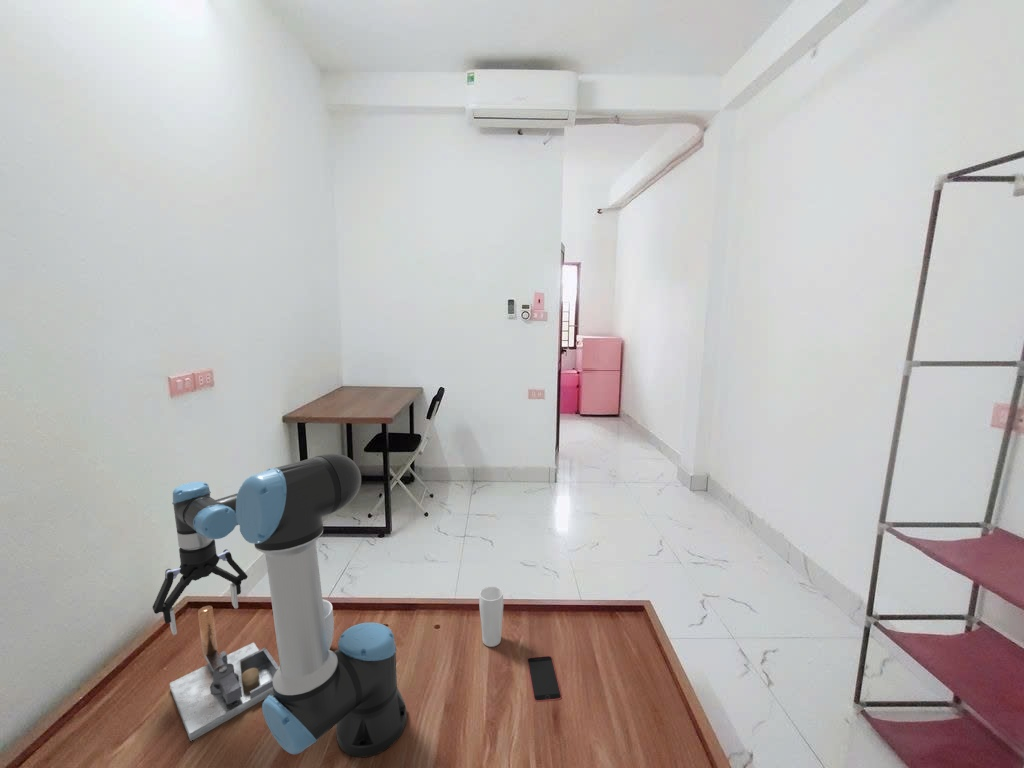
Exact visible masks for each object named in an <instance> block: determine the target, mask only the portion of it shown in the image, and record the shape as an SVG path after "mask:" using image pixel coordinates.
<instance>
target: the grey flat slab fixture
mask: <svg viewBox="0 0 1024 768" xmlns="http://www.w3.org/2000/svg"><path fill="white" fill-rule="evenodd" d="M219 655H220V657H221V659H222V661H223V663H224V664H232V665H233V666H234V674H235V677H236V679H237V680H238V682H239V684H240V686H241V691H242V697H241V698H239V699H238V700H236V701H234V702H232V703H230V704H229V705H227V703H226V701H225V699H224V697H223V695H222V693H221V691H220V689H217V688H215V687H214V683H213V675H212V674H213V672H212V670H211V668H210V666H209V664H208V663H207V664H206V665H203V666H202V667H199V668H197V669H195V670H193V671H192V672H189V673H187V674H185V675H184V676H183V675H182V676H180V677H179V678H177V679H175V680H173V681H171V682H169V688H170V692H171V694H172V698H173V700H174V703H175V705H176V708H177V711H178V713H179V716H180V718H181V720H182V721H181V722H182V724H183V726H184V728H185V731H186V734H187V737H188V739H189V742H190V741H191V742H193V741H194V740H196V739H198V738H200V737H201V736H203V735H205V734H206V733H208V732H210V731H212V730H213V729H216V728H217V727H219V726H220V725H222V724H224V723H225V722H227V721H229V720H231V719H232V718H234V717H236V716H237V715H240V714H241V713H243V712H244V711H247V710H248V709H250V708H251V707H253V706H256V705H257V704H258V703H261V701H263V700H265V699H266V698H267V697H268V696H269V695H272V694H273V693H274V690H273V677H274V675H275V673H276V671H277V670H278V668H279V667H280V665H278V662H276V660H275V659H274V657H273V656H272V654H271V653H270V651H268V649H267V648H266V647H263V648H261V649H259V647H257V645H256V643H255V642H251V643H249V644H247V645H245V646H243V647H241V648H239V649H236V650H235V651H232V652H231V653H228V654H227V652H226V651H225V650H224V651H221V652H219ZM250 668H257V669H258V672H259V681H260V683H259V685H258V686H257V687H256V688H255V689H253V690H251V691H244V690H243V686H242V677H241V676H242V674H243V673H244V672H245V671H246V670H248V669H250ZM192 740H193V741H192Z"/></svg>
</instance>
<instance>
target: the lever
mask: <svg viewBox="0 0 1024 768" xmlns="http://www.w3.org/2000/svg"><path fill="white" fill-rule="evenodd" d="M214 616H215V615H214V609H213V606H212V605H205V606H202V607H201V608H199V609H198V610H197V617H198V624H199V625H198V626H199V632H200V641H201V649H202V655H203V656H204V659H205V661H206V662H207V665H208V664H209V666H210V668H211V670H212V672H213V674H212V675H213V683H214V687H215V688H217V689H220V691H221V693H222V695H223V697H224V699H225V701H226V703H227V705H229V704H230V703H232V702H234V701H236V700H238V699H239V698H241V697H242V691H241V686H240V684H239V682H238V680H237V679H236V677H235V674H234V666H233V665H232V664H224V663H223V661H222V659H221V657H220V653H219V652H218V642H217V632H216V624H215V617H214Z"/></svg>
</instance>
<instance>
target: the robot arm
mask: <svg viewBox="0 0 1024 768" xmlns="http://www.w3.org/2000/svg"><path fill="white" fill-rule="evenodd" d="M361 486H362V474H361V470H360V468H359V466H358V465H357V464H356V462H355V461H354V460H352V459H351V458H350V457H348V456H346V455H343V454H338V453H325V454H320V455H316V456H314V457H311V458H307V459H304V460H300V461H297V462H292V463H288V464H285V465H281V466H278V467H271V468H267V469H266V470H264V471H262V472H258V473H256V474H253V475H250V476H249V477H247V478H246V479H245V480H244V481H243V482H242V484H241V486H240V487H239V489H238V491H237V493H233V494H231V495H227V496H225V497H220V498H218V499H214V498H213V497H211V491H210V486H209V483H207V482H204V481H191V482H187V483H183V484H181V485H179V486H177V487H176V488H174V489H173V491H172V505H173V512H174V519H175V527H176V533H177V534H176V535H177V536H176V537H177V543H178V544H177V545H178V547H179V549H178V552H179V560H180V566H179V567H178V568H174V569H171V568H167V569H166V570H165V572H164V573H165V574H164V576H165V577H164V580H163V583H162V585H161V587H160V589H159V591H158V593H157V596H156V598H155V601H154V603H153V604H152V610H153V612H154V614H156V615H157V614H159V613H162V614H163V621H164V623H165V624H167V625H168V624H169V625H170V631H171V633H172V636H175V635H177V634H178V630H177V623H176V615H175V610H174V607H173V606H174V605H175V603H176V602H177V601H178V599H179V598H180V596H181V595H182V594H183V592H184V591H185V590H186V588H187V587H188V586H189V585H190V584H191V583H192V581H198V580H200V579H202V578H206V577H210V575H211V574H214V575H216V576H219V577H221V578H223V579H225V580H227V581H229V582H230V583H229V588H230V598H231V605H232V606H233V608H234V609H235V610H237V609H238V608H239V603H238V602H239V601H238V595H240V594H241V593H242V587H241V584H242V581H244V580H247V579H248V575H247V573H246V572H245V571H244V570H243V569H242V568H241V567H240V565H238V563H237V562H236V561H235V560H234V559H233V556H232V554H231V552H230V551H229V549H224V550H223V552H222V553H219V554H218V553H217V547H216V540H219V539H220V540H221V539H223V538H225V537H227V536H229V534H231V533H232V532H233V531H234V530H235V528H236V526H239V532H240V534H241V536H242V538H243V539H244V540H245V541H247V543H250V544H254V548H255V550H257V551H259V552H261V553H263V554H265V562H266V568H267V576H268V577H267V578H268V584H269V591H270V599H271V606H272V607H271V608H272V614H273V622H274V623H273V625H274V630H275V638H276V639H275V641H276V647H277V655H278V663H279V668H278V670H277V671H276V673H275V675H274V677H273V690H274V693H273V694H272V695H269V696H268V697H267V698H265V699H264V701H263V702H262V703H261V704H262V706H261V710H262V714H263V718H264V721H265V723H266V725H267V727H268V729H269V731H270V733H271V734H272V736H273V738H274V739H275V741H276V742H277V743H278V745H279V746H280V747H281V748H282V749H283V750H284V751H285V752H287V753H289V754H291V755H298V754H301V753H302V752H304V751H305V750H307V748H309V747H311V746H312V745H313V744H316V743H317V742H318V740H320V738H322V737H323V736H324V735H325V734H326V733H328V732H329V731H330V730H331V729H332V728H333V727H334V726H335V725H336V727H335V728H336V729H335V730H336V741H337V744H338V746H339V748H340V749H341V750H342V751H343V752H344V753H345V754H347V755H350V756H352V757H356V758H365V757H371V756H375V755H377V754H380V753H382V752H384V751H386V750H387V749H389V748H390V747H391V746H393V745H394V744H395V743H396V742H397V741H398V739H399V738H400V737H401V735H402V734H403V733H404V730H405V728H406V723H407V708H406V707H407V706H406V702H405V701H404V700H405V699H404V698H403V697H402V694H401V692H400V690H399V688H398V683H397V682H398V681H397V680H398V679H397V677H398V676H397V660H396V659H397V656H396V655H397V654H396V653H397V645H396V642H395V636H394V633H393V630H391V628H390V627H388V626H387V625H384V624H382V623H379V622H378V623H377V622H362V623H358V624H355V625H352V626H351V627H349V628H346V629H345V631H343V632H342V633H341V634H340V637H339V640H338V642H337V647H338V649H336V650H335V651H332V650H330V649H329V650H328V644H327V635H326V626H325V617H324V608H323V600H324V599H323V593H322V584H321V583H322V582H321V575H320V574H321V573H320V566H319V555H318V547H317V541H318V539H319V538H320V537H321V536H322V534H324V525H323V517H326V516H328V515H330V514H333V513H335V512H338V511H339V510H341V509H343V508H345V507H346V506H347V505H349V504H350V503H351V502H352V501H353V500H354V499H355V497H356V496H358V493H359V491H360V488H361ZM220 560H221V561H223V562H227V563H228V564H229V565H230V567H231V568H232V569H233V570H234V571H235V572H236V573H237V575H235V574H232V573H231V572H229V571H227V570H225V569H223V568H221V567H220V566H218V563H219V562H220ZM179 574H180V575H182V576H181V577H179V578H180V580H179V581H178V582H177V584H176V585H175V587H173V590H172V591H171V592H170V590H171V588H172V585H173V583H174V580H175V579H176V578H177V576H178V575H179ZM169 592H170V594H169Z"/></svg>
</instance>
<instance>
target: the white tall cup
mask: <svg viewBox="0 0 1024 768" xmlns="http://www.w3.org/2000/svg"><path fill="white" fill-rule="evenodd" d="M478 599H479V600H478V601H479V602H478V604H479V615H480V616H479V617H480V618H479V619H480V625H481V634H482V635H481V636H482V637H481V639H482V643H483V644H484V645H485V646H487V647H491V648H494V647H496V646H498V645H499V644H500V643H501V642H502V641H501V640H502V626H503V617H504V616H503V614H504V592H503V589H501V588H500V587H498V586H493V585H491V586H485V587H484V588H482V589H481V590H480V591H479V598H478Z"/></svg>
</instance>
